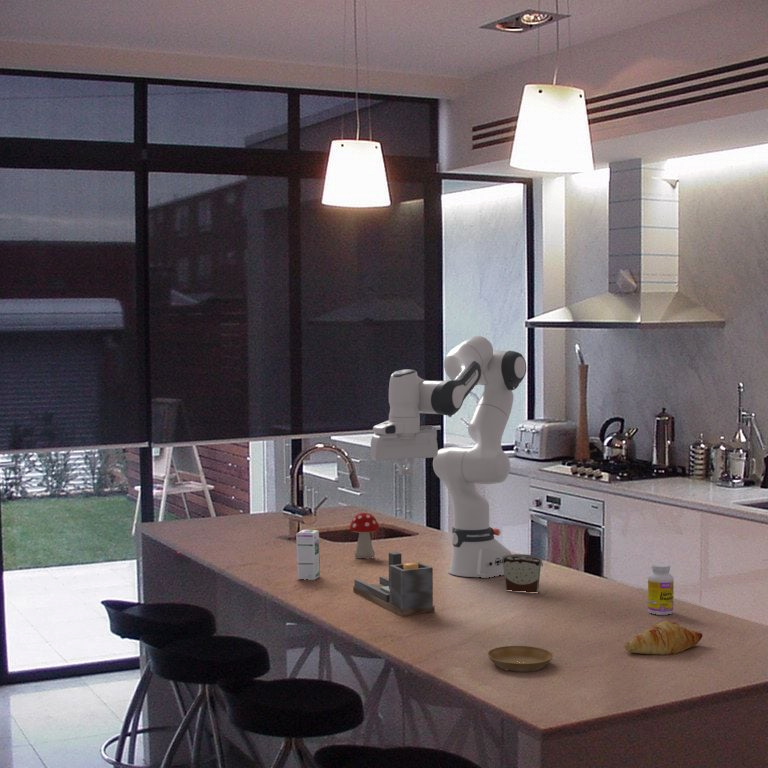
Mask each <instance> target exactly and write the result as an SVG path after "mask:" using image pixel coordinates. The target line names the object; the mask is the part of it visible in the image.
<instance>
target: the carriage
mask: <svg viewBox="0 0 768 768" xmlns="http://www.w3.org/2000/svg"><path fill="white" fill-rule="evenodd" d="M398 564H403V562H402V553H401V552H398V551H393V552H392V551H391V552H388V579H389V586H385V587H380V590H382V591H384V592H386V593H388V594H390V566H389V565H398Z"/></svg>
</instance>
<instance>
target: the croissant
mask: <svg viewBox="0 0 768 768" xmlns="http://www.w3.org/2000/svg"><path fill="white" fill-rule="evenodd" d="M702 638H703V633H702V632H700V631H695V630H694V629H688V628H686V627H684V626H680V625H679V624H678V623H677V622H674V621H673V622H672V621H667V620H666V621H665V620H664V621H660V622H657V623H655V624H653V625H652V626H650V628H648V629H645V630H643V631H642V633H641V634H639V635H636V636H634V637H632V638H631V640H630V641H628V642H625V643H624V649H625V651H627V652H629V653H634V654H641V655H642V654H643V655H644V654H645V655H658V654H660V655H661V656H662V655H663V656H665V654H666V655H667V656H668V655H671V653H673V654H677V653H678V652H679V653H681V652H684V651H685V650H687V649H691V648H692V647H695V646H696V645H698V643H700V641H701V640H702ZM679 653H678V654H679ZM660 655H659V656H660Z"/></svg>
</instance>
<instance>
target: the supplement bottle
mask: <svg viewBox="0 0 768 768" xmlns="http://www.w3.org/2000/svg"><path fill="white" fill-rule="evenodd" d="M670 570H671V565H670V564H668V563H664V562H663V563H662V562H659V563H658V562H655V563H652V564H651V571H652V572H651V573H650V574H649V575H648V577H647V612H648V613H649V614H651V613H652V615H655V614H656V615H655V616H669V615H668V614H670V615H672V614H673V613H674V583H675V581H674V580H675V579H674V576H673V575H672V574H671V573H670Z"/></svg>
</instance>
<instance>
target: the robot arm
mask: <svg viewBox="0 0 768 768" xmlns="http://www.w3.org/2000/svg"><path fill="white" fill-rule="evenodd" d="M443 368H444V371H445V373H446V375H447V377H448V378H449V379H450V380H427V379H426V380H425V379H424V378H421V377H420V376H418V371H416V370H415V369H411V368H410V369H409V368H408V369H407V368H406V369H399V370H395V371H394V372H392V374H391V375H390V378H389V385H388V405H389V407H390V408H389V413H388V420H385V421H384V422H381V423H378V424H376V425H374V426H373V427H372V432H373V433H374V434H373V435H372V437H371V440H370V446H369V447H370V448H369V450H370V452H369V453H370V454H369V456H370V458H371V459H372V460H373V461H377V462H381V461H394V463H395V466H396V467H397V468H398V475H399V476H409V475H410V476H411V472H412V471H411V469H412V467H413V466H414V464H415V459H428V458H433V461H432V467H433V471H434V472H433V473H435V475H436V476H437V478H439V479H440V480H441V482H443V484H444V485H445V487H446V488H447V491H448V493H449V495H450V498H451V502H452V513H453V514H452V515H453V526H452V528H451V537H452V538H451V539H452V540H451V541H452V553H451V561H450V566H449V569H448V573H449V574H451V575H453V576H458V577H465V578H467V577H469V578H479V577H481V578H482V579H488V578H489V577H490V578H494V576H495V577H500V576H499V575H501V576H504V567H503V563H502V564H501V561H502V558H503V556H506V555H513V554H512V552H511V550H510V549H508V548H507V547H506V546H505V545H503V544H502V543H501V542H499V541H498V540H497V539H496V538H495V536H496V537H497V536H500V534H501V533H502V531H501V530H500V529H499V528H493V527H491V526H490V505H489V501H488V500H487V499H486V497H485V496H483V495H482V494H481V493H479V492H478V490H477V488H476V485H475V484H481V485H494V484H500V483H503V482H505V481H506V480H507V478H508V477H509V474H510V471H511V462H510V461H511V460H510V459H509V457H508V455H507V454H506V453H505V451H504V450H503V448H502V447H503V446H502V438H503V435H504V432H505V428H506V426H507V424H508V421H509V419H510V416H511V412H512V408H513V403H514V392H513V391H515V390H516V389H518V387H519V386H520V384H521V383H522V382H523V380H524V378H525V376H526V373H527V363H526V359H525V357H524V356H523V354H522V353H520V352H518V351H515V350H508V351H506V350H494V348H493V345H492V343H491V342H490V341H489V340H488V339H487V338H486V337H484V336H481V335H475V336H471V337H468V338H467V339H465V340H463V341H461V342H459V343H458V344H457V345H456V346H454V347H453V348H451V349H450V351H448V353H447V354H446V355H445V357H444V360H443ZM477 385H479V386H484V387H483V392H482V394H481V396H480V398H479V399H478V401H477V403H476V405H475V408H474V410H473V413H472V415H471V418H470V420H469V423H468V424H467V431H468V435H469V438H471V439H472V441H474V442H475V444H474V446H470V447H469V446H468V447H467V446H466V447H465V446H449V447H442V448H439V447H438V440H437V438H438V430H437V429H436V427H435V426H434V425H429V424H428V425H421V421H420V420H421V419H420V418H421V417H420V414H428V415H429V414H432V415H441V416H448V417H449V416H453V415H455V414H456V413H458V412H459V410H460V409H461V407H462V406H463V404H464V401H465V399H466V398H467V397H468V396H469V394H470V393H471V392H472V390H473V389H474V388H475V387H476V386H477ZM403 460H406V462H407V464H406V467H403V465H402V464H403V462H404V461H403ZM481 578H480V579H481Z"/></svg>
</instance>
